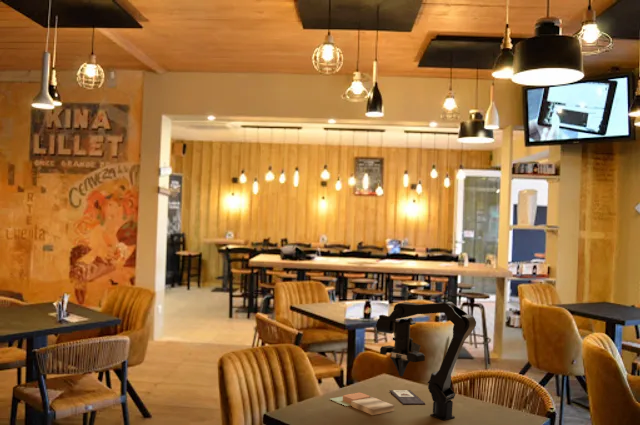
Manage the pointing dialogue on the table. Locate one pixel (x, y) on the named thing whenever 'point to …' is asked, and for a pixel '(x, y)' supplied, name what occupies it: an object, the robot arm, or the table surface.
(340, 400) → the mat
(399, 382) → the table surface
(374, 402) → the beige square slab
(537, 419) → the table surface
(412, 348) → the robot arm
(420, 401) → the chocolate bar
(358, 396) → the salmon orange rectangular block
